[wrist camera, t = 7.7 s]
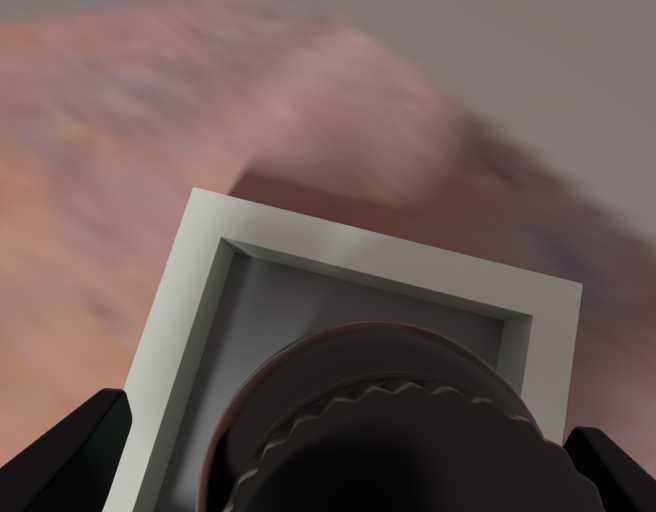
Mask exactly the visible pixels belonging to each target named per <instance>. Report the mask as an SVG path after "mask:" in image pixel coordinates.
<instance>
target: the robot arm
mask: <svg viewBox="0 0 656 512" xmlns="http://www.w3.org/2000/svg"><path fill="white" fill-rule="evenodd" d="M131 426H132V412H131V408H130V405H129V401H128V397H127V394H126V392H125V391H124V390H122V389H112V388H105V389H102V390H100V391H99V392H97V393H96V394H95V395H93V396H92V397H91V398H90V399H88V400H87V401H86V402H84V403H83V404H82V405H81V406H79V407H78V408H77V409H76V410H74V411H73V412H72V413H70V414H69V415H68V416H67V417H65V418H64V419H63V420H61V421H60V422H59V423H58V424H56V425H55V426H54V427H52V428H51V429H50V430H49V431H47V432H46V433H45V434H43V435H42V436H41V437H40V438H38V439H37V440H36V441H34V442H33V443H32V444H31V445H29V446H28V447H27V448H25V449H24V450H23V451H22V452H20V453H19V454H18V455H16V456H15V457H14V458H13V459H11V460H10V461H9V462H8V463H6V464H5V465H4V466H2V467H1V468H0V512H102V511H103V508H104V506H105V504H106V501H107V498H108V495H109V492H110V489H111V486H112V483H113V480H114V477H115V474H116V471H117V468H118V465H119V462H120V459H121V456H122V453H123V450H124V447H125V444H126V441H127V438H128V435H129V432H130V429H131ZM563 448H564V449H565V450H566V452H567V453H568V455H569V457H570V458H571V460H572V462H573V465H574V467H575V469H576V471H578V472H580V473H581V474H583V475H584V476H586V477H587V478H588V479H589V480H591V481H592V482H593V483H594V484H595V485H596V486H597V489H598V492H599V494H600V497H601V500H602V504H603V507H604V510H605V512H656V480H655V479H654V478H653V477H652V476H650V475H649V474H648V473H647V472H646V471H645V470H644V469H643V468H642V467H641V466H639V465H638V464H637V463H636V462H635V461H634V460H633V459H632V458H631V457H630V456H629V455H627V454H626V453H625V452H624V451H623V450H622V449H621V448H620V447H619V446H618V445H617V444H615V443H614V442H613V441H612V440H611V439H610V438H609V437H608V436H607V435H606V434H604V433H603V432H602V431H601V430H599V429H597V428H593V427H581V426H578V427H575V428H574V429H573V430H572V432H571V434H570V436H569V437H568V439H567V441H566V443H565V444H564V446H563Z"/></svg>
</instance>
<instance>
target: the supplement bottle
mask: <svg viewBox="0 0 656 512" xmlns="http://www.w3.org/2000/svg"><path fill="white" fill-rule="evenodd" d="M195 512H605V510H604V507H603V504H602V500H601V497H600V494H599V492H598V489H597V486H596V485H595V484H594V483H593V482H592V481H591V480H589V479H588V478H587V477H586V476H584V475H583V474H581V473H580V472H578V471H576V469H575V467H574V465H573V462H572V460H571V458H570V457H569V455H568V453H567V452H566V450H565V449H564V448H563V447H562V446H560V445H558V444H556V443H554V442H552V441H550V440H548V439H545V438H544V436H543V434H542V432H541V430H540V428H539V426H538V424H537V422H536V421H535V419H534V417H533V415H532V414H531V412H530V411H529V409H528V408H527V406H526V405H525V403H524V402H523V400H522V399H521V398H520V396H519V395H518V394H517V393H516V391H515V390H514V389H513V388H512V386H511V385H510V384H509V383H508V382H507V381H506V380H505V379H504V378H503V377H502V376H501V375H500V374H499V373H498V372H497V371H496V370H495V369H494V368H493V367H492V366H490V365H489V364H488V363H487V362H486V361H485V360H483V359H482V358H481V357H479V356H478V355H477V354H475V353H474V352H472V351H471V350H469V349H468V348H466V347H464V346H463V345H461V344H459V343H458V342H456V341H454V340H452V339H450V338H448V337H446V336H444V335H441V334H439V333H436V332H433V331H431V330H428V329H425V328H422V327H418V326H414V325H410V324H404V323H398V322H391V321H358V322H351V323H344V324H339V325H335V326H331V327H327V328H324V329H321V330H318V331H315V332H313V333H310V334H308V335H306V336H304V337H302V338H300V339H297V340H296V341H294V342H292V343H291V344H289V345H287V346H286V347H284V348H282V349H281V350H279V351H278V352H277V353H275V354H274V355H273V356H271V357H270V358H269V359H267V360H266V361H265V362H264V363H263V364H262V365H261V366H260V367H258V368H257V369H256V370H255V371H254V372H253V373H252V374H251V375H250V377H249V378H248V379H247V380H246V381H245V382H244V383H243V384H242V385H241V387H240V388H239V389H238V391H237V392H236V393H235V395H234V396H233V397H232V399H231V400H230V402H229V403H228V405H227V407H226V408H225V410H224V411H223V413H222V415H221V417H220V419H219V421H218V423H217V425H216V427H215V429H214V431H213V433H212V436H211V438H210V441H209V443H208V446H207V449H206V452H205V456H204V459H203V462H202V466H201V470H200V475H199V480H198V485H197V494H196V503H195Z"/></svg>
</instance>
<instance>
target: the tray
mask: <svg viewBox="0 0 656 512" xmlns="http://www.w3.org/2000/svg"><path fill="white" fill-rule="evenodd" d="M582 287H583V284H582V283H578V282H574V281H570V280H565V279H561V278H557V277H553V276H549V275H545V274H541V273H537V272H533V271H529V270H525V269H521V268H517V267H513V266H509V265H505V264H501V263H497V262H493V261H489V260H485V259H481V258H477V257H473V256H469V255H465V254H461V253H457V252H453V251H449V250H445V249H441V248H437V247H432V246H428V245H424V244H420V243H416V242H412V241H408V240H404V239H400V238H396V237H392V236H388V235H384V234H380V233H376V232H372V231H368V230H364V229H360V228H356V227H352V226H348V225H344V224H340V223H336V222H332V221H328V220H324V219H320V218H316V217H312V216H308V215H304V214H299V213H295V212H291V211H287V210H283V209H279V208H275V207H271V206H267V205H263V204H259V203H255V202H251V201H247V200H243V199H239V198H235V197H231V196H227V195H223V194H219V193H215V192H211V191H207V190H203V189H199V188H195V187H193V189H192V192H191V195H190V198H189V201H188V204H187V207H186V210H185V213H184V216H183V218H182V221H181V224H180V227H179V230H178V233H177V236H176V239H175V242H174V245H173V247H172V250H171V253H170V256H169V259H168V262H167V265H166V268H165V271H164V274H163V276H162V279H161V282H160V285H159V288H158V291H157V294H156V297H155V300H154V303H153V305H152V308H151V311H150V314H149V317H148V320H147V323H146V326H145V329H144V332H143V334H142V337H141V340H140V343H139V346H138V349H137V352H136V355H135V358H134V361H133V363H132V366H131V369H130V372H129V375H128V378H127V381H126V384H125V387H124V391H125V392H126V394H127V397H128V401H129V405H130V408H131V412H132V426H131V429H130V432H129V435H128V438H127V441H126V444H125V447H124V450H123V453H122V456H121V459H120V462H119V465H118V468H117V471H116V474H115V477H114V480H113V483H112V486H111V489H110V492H109V495H108V498H107V501H106V504H105V506H104V508H103V511H102V512H195V503H196V494H197V485H198V480H199V475H200V470H201V466H202V462H203V459H204V456H205V452H206V449H207V446H208V443H209V441H210V438H211V436H212V433H213V431H214V429H215V427H216V425H217V423H218V421H219V419H220V417H221V415H222V413H223V411H224V410H225V408H226V407H227V405H228V403H229V402H230V400H231V399H232V397H233V396H234V395H235V393H236V392H237V391H238V389H239V388H240V387H241V385H242V384H243V383H244V382H245V381H246V380H247V379H248V378H249V377H250V375H251V374H252V373H253V372H254V371H255V370H256V369H257V368H258V367H260V366H261V365H262V364H263V363H264V362H265V361H266V360H267V359H269V358H270V357H271V356H273V355H274V354H275V353H277V352H278V351H279V350H281V349H282V348H284V347H286V346H287V345H289V344H291V343H292V342H294V341H296V340H297V339H300V338H302V337H304V336H306V335H308V334H310V333H313V332H315V331H318V330H321V329H324V328H327V327H331V326H335V325H339V324H344V323H351V322H358V321H391V322H398V323H404V324H410V325H414V326H418V327H422V328H425V329H428V330H431V331H433V332H436V333H439V334H441V335H444V336H446V337H448V338H450V339H452V340H454V341H456V342H458V343H459V344H461V345H463V346H464V347H466V348H468V349H469V350H471V351H472V352H474V353H475V354H477V355H478V356H479V357H481V358H482V359H483V360H485V361H486V362H487V363H488V364H489V365H490V366H492V367H493V368H494V369H495V370H496V371H497V372H498V373H499V374H500V375H501V376H502V377H503V378H504V379H505V380H506V381H507V382H508V383H509V384H510V385H511V386H512V388H513V389H514V390H515V391H516V393H517V394H518V395H519V396H520V398H521V399H522V400H523V402H524V403H525V405H526V406H527V408H528V409H529V411H530V412H531V414H532V415H533V417H534V419H535V421H536V422H537V424H538V426H539V428H540V430H541V432H542V434H543V436H544V438H545V439H548V440H550V441H552V442H554V443H556V444H558V445H560V446H562V442H563V434H564V426H565V418H566V411H567V403H568V395H569V387H570V380H571V372H572V364H573V356H574V349H575V341H576V333H577V325H578V318H579V310H580V302H581V294H582Z"/></svg>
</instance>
